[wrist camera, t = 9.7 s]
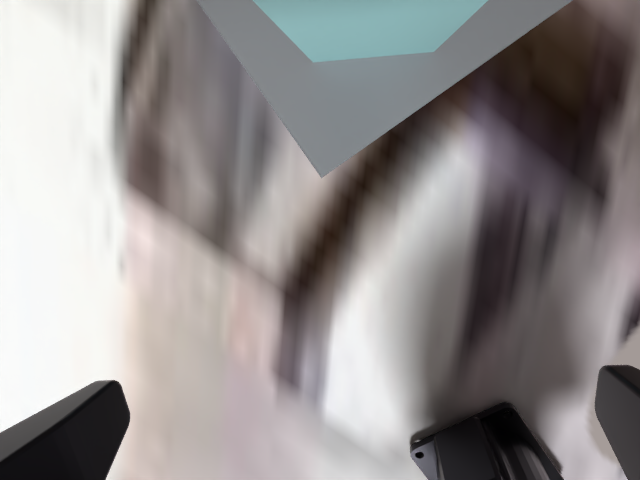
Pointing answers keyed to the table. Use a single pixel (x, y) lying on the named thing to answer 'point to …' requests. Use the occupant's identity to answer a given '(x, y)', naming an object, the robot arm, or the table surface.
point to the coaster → (361, 74)
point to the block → (368, 25)
